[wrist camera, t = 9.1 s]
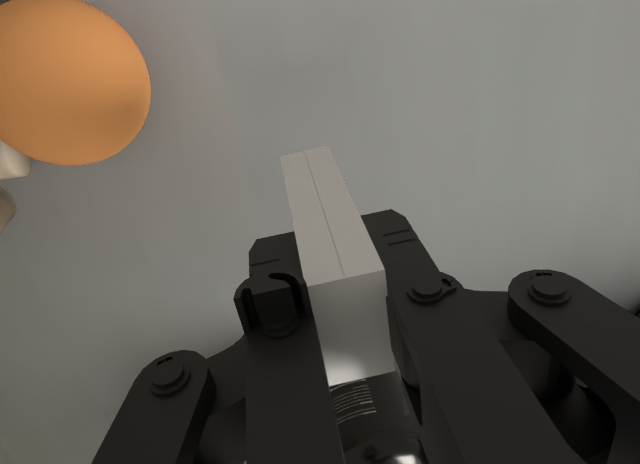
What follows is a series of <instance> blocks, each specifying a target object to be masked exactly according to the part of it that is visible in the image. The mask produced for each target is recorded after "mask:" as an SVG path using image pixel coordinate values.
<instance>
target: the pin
mask: <svg viewBox="0 0 640 464" xmlns="http://www.w3.org/2000/svg"><path fill="white" fill-rule="evenodd" d="M15 212H16V205H15V202H14V200H13V198H12V197H11V195H10V194H9V193H8V192H6V191H5V190H4V189H2V188H0V233H1V232H2V231H3V229H4V228H5V227H6V225H7V224H8V223H9V221H10V220H11V219H12V217H13V216H14V214H15Z"/></svg>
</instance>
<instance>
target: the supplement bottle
mask: <svg viewBox="0 0 640 464" xmlns="http://www.w3.org/2000/svg"><path fill="white" fill-rule="evenodd" d="M394 360H395V357H394ZM395 369H396V371H393V372H389V373H384V374H380V375H376V376H371V377H367V378H363V379H358V380H354V381H349V382H345V383H341V384H336V385H332V386H329V388H330V392H331V397H332V401H333V406H334V411H335V415H336V420H337V425H338V430H339V435H340V439H341V444H342V449H343V454H344V458H345V463H346V464H429V462H428V459H427V457H426V454H425V451H424V449H423V446H422V443H421V440H420V438H419V435H418V432H417V429H416V427H415V424H414V421H413V419H412V416H411V413H410V415H406V416H405V412H404V403H403V392H402V382H401V373H400V370H399V368H398V365H397V363H396V360H395Z"/></svg>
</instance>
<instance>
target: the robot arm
mask: <svg viewBox="0 0 640 464" xmlns="http://www.w3.org/2000/svg"><path fill="white" fill-rule="evenodd" d="M280 160H281V165H282V170H283V176H284V181H285V186H286V191H287V196H288V201H289V206H290V211H291V217H292V222H293V227H294V232H289V233H284V234H280V235H275V236H270V237H266V238H261V239H257V240H256V241H255V243H254V245H253V246H252V248H251V249H250V251H249V266H250V267H249V276H250V278H248V279H246V280H245V281H243V283H242V284H241V285H240V286H239V287H238V288H237V289H236V292H235V295H234V302H235V305H236V309H237V312H238V315H239V318H240V321H241V324H242V327H243V330H244V333H245V334H244V335H243V336H242V337H241V339H240V340H238V341H237V342H236V343H235V344H234V345H232V346H231V347H229V348H227V349H226V350H224V351H222V352H220V353H218V354H216V355H214V356H212V357H210V358H208V359H206V360H205V358H204V357H203V356H202V355H200V354H198V353H197V352H195V351H187V350H181V351H175V352H170V353H168V354H165V355H163V356H161V357H159V358H157V359H155V360H154V361H153V362H151V363H150V364H149V365H147V366H146V367H145V368H144V369H143V370H142V371H141V373H140V374H139V375H138V377H137V378H136V379H135V381H134V383H133V385H132V387H131V389H130V391H129V392H128V394H127V396H126V398H125V400H124V402H123V404H122V406H121V408H120V410H119V412H118V413H117V415H116V417H115V419H114V421H113V423H112V425H111V427H110V429H109V431H108V433H107V435H106V436H105V438H104V440H103V442H102V444H101V446H100V448H99V450H98V452H97V454H96V456H95V457H94V459H93V461H92V463H91V464H244V461H246V460H247V464H346V463H345V458H344V454H343V449H342V444H341V439H340V435H339V430H338V425H337V420H336V415H335V411H334V406H333V401H332V397H331V392H330V388H329V386H332V385H336V384H341V383H345V382H349V381H354V380H358V379H363V378H367V377H371V376H376V375H380V374H384V373H389V372H393V371H396V369H395V360H396V363H397V365H398V368H399V370H400V373H401V382H402V392H403V403H404V412H405V416H406V415H410V413H411V416H412V419H413V421H414V424H415V427H416V429H417V432H418V435H419V438H420V440H421V443H422V446H423V449H424V451H425V454H426V457H427V459H428V462H429V464H640V313H639V314H638V315H637V316H635V315H633V314H631V313H630V312H628V311H627V310H625V309H624V308H622V307H620V306H619V305H617V304H616V303H614V302H613V301H611V300H609V299H608V298H606V297H605V296H603V295H602V294H600V293H598V292H597V291H595V290H594V289H592V288H591V287H589V286H587V285H586V284H584V283H583V282H581V281H580V280H578V279H576V278H574V277H572V276H570V275H567V274H565V273H562V272H557V271H553V270H531V271H527V272H523V273H521V274H519V275H518V276H516V277H515V278H513V279H512V281H511V283H510V285H509V287H508V292H500V291H473V290H469V289H464V288H463V286H462V285H461V284H460V283H459V282H458V281H457V280H456V279H455V278H454V277H452V276H450V275H447V274H445V273H443V272H440V271H439V270H438V268H437V267H436V265H435V263H434V262H433V260H432V259H431V257H430V255H429V254H428V252H427V251H426V249H425V247H424V246H423V244H422V243H421V241H420V240H419V239H418V236H417V235H416V233H415V232H414V231H413V229H412V227H411V225H410V224H409V222H408V220H407V219H406V217H404V216H403V215H401V214H399V213H397V212H396V211H394V210H392V209H390V210H385V211H381V212H376V213H371V214H367V215H362V216H360V214H359V212H358V210H357V208H356V205H355V203H354V201H353V199H352V197H351V195H350V192H349V190H348V188H347V186H346V184H345V182H344V179H343V177H342V175H341V173H340V171H339V168H338V166H337V164H336V162H335V160H334V158H333V155H332V153H331V151H330V149H329V147H328V146H324V147H319V148H315V149H310V150H305V151H300V152H295V153H290V154H286V155H281V156H280ZM394 357H395V360H394Z"/></svg>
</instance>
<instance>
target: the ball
mask: <svg viewBox="0 0 640 464" xmlns="http://www.w3.org/2000/svg"><path fill="white" fill-rule="evenodd" d="M150 99H151V85H150V78H149V73H148V70H147V67H146V63H145V61H144V59H143V56H142V54H141V52H140V50H139V49H138V47H137V45H136V44H135V42H134V41H133V40H132V38H131V37H130V36H129V34H128V33H127V32H126V31H125V30H124V29H123V28H122V27H121V26H120V25H119V24H118V23H117V22H116V21H114V20H113V19H112V18H111V17H109V16H108V15H107V14H105V13H104V12H102V11H101V10H99V9H97V8H95V7H93V6H91V5H89V4H87V3H85V2H82V1H80V0H10V1H8V2H5V3H3V4H1V5H0V139H1V140H2V141H3V142H5V143H6V144H7V145H8V146H10V147H12V148H13V149H15V150H17V151H18V152H20V153H22V154H24V155H26V156H28V157H31V158H33V159H36V160H40V161H43V162H46V163H50V164H56V165H69V166H76V165H86V164H91V163H95V162H99V161H102V160H104V159H107V158H109V157H111V156H113V155H115V154H116V153H118V152H120V151H121V150H123V149H124V148H125V147H126V146H127V145H129V144H130V143H131V142H132V141H133V139H134V138H135V137H136V136H137V134H138V133H139V132H140V130H141V128H142V127H143V124H144V122H145V120H146V117H147V114H148V111H149V106H150Z"/></svg>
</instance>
